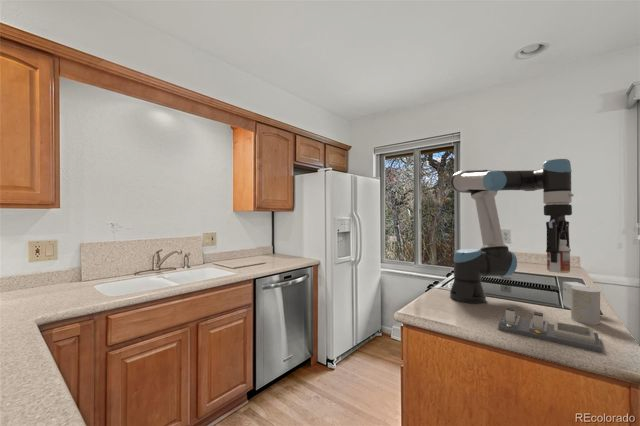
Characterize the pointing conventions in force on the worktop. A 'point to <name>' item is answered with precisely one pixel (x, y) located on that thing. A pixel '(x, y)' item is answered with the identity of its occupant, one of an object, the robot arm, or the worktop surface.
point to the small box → (569, 292)
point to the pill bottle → (562, 257)
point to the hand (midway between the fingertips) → (558, 270)
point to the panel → (554, 333)
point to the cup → (585, 305)
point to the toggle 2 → (538, 320)
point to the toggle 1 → (510, 315)
